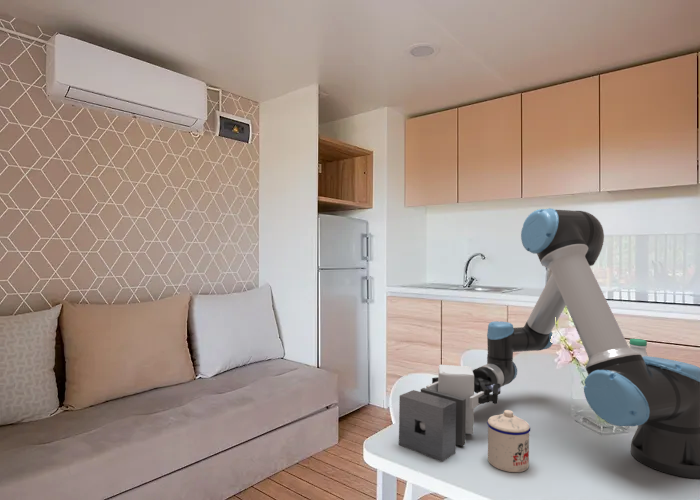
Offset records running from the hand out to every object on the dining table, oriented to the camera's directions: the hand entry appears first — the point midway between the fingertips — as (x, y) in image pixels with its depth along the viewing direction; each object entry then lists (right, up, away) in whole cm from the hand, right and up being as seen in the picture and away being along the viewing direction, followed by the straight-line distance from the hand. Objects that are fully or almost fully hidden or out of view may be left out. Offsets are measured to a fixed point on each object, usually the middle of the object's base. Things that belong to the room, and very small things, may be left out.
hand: (448, 397), depth 109 cm
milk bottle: (+68, -11, +28) cm, 74 cm away
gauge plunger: (-6, -9, -4) cm, 12 cm away
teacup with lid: (+11, -10, -13) cm, 20 cm away
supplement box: (+2, -9, +3) cm, 9 cm away
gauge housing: (-5, -10, -3) cm, 11 cm away
